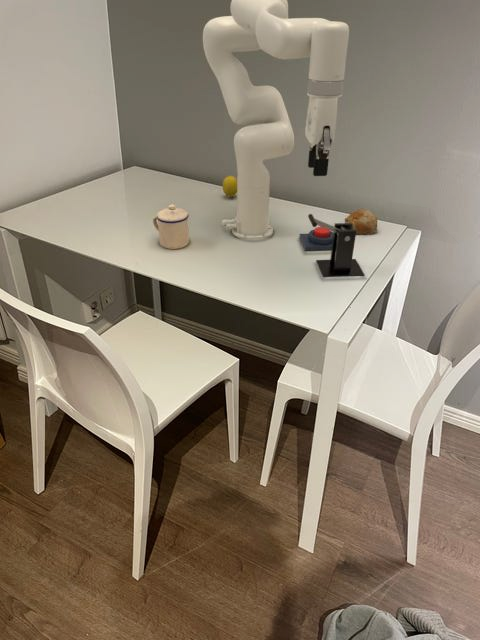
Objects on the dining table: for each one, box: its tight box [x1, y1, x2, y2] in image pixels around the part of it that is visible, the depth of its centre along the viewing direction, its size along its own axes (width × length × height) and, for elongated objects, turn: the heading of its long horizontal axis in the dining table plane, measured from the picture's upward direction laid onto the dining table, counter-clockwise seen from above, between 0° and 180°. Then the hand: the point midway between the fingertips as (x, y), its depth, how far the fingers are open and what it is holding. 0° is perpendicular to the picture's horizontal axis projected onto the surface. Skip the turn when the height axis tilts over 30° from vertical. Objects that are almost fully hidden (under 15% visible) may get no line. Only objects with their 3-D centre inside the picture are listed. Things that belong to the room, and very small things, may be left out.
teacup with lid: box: [152, 204, 190, 250], centre depth 144 cm, size 12×9×12 cm
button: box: [313, 226, 330, 238], centre depth 143 cm, size 4×4×2 cm
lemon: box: [222, 174, 237, 198], centre depth 175 cm, size 6×6×8 cm
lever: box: [307, 213, 349, 235], centre depth 126 cm, size 12×6×2 cm, turn 95°
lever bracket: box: [315, 222, 365, 278], centre depth 130 cm, size 11×9×13 cm
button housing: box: [299, 229, 334, 252], centre depth 144 cm, size 11×9×4 cm
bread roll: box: [344, 209, 378, 236], centre depth 154 cm, size 10×10×8 cm
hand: (317, 170), depth 117 cm, fingers open, 5 cm apart
